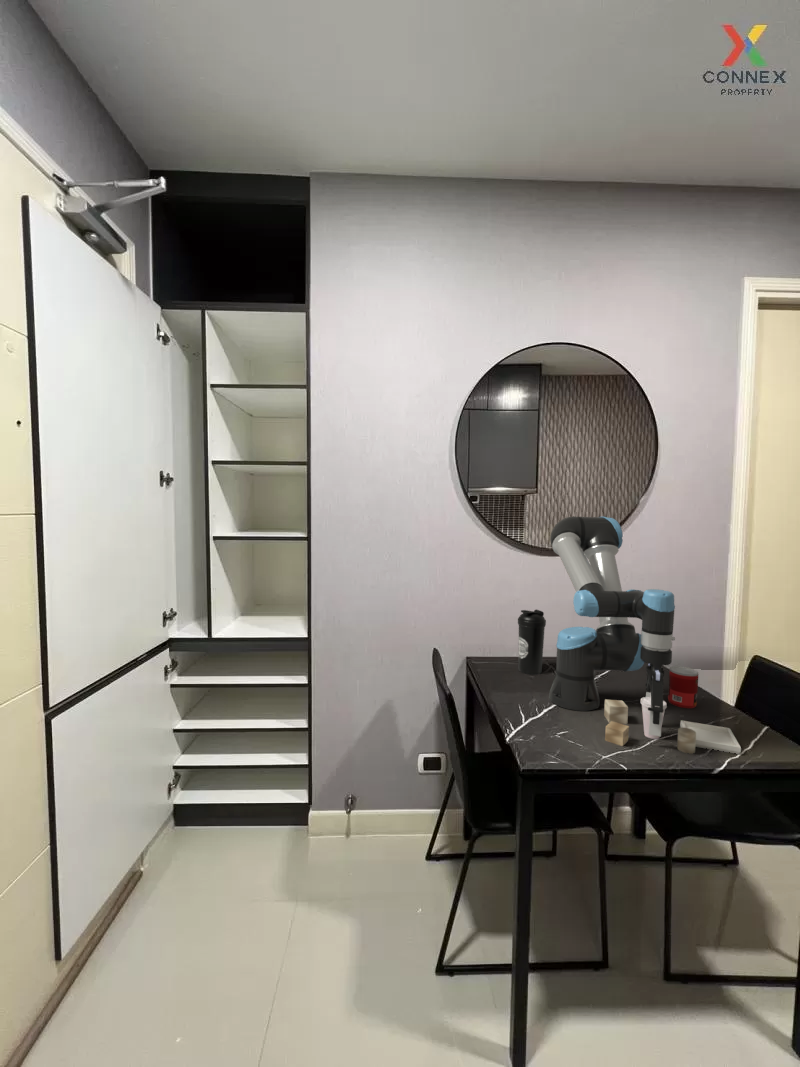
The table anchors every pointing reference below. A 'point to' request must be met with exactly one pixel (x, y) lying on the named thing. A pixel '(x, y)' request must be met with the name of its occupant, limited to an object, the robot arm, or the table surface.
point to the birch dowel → (686, 740)
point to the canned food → (683, 687)
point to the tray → (713, 737)
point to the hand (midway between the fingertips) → (652, 724)
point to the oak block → (616, 733)
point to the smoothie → (646, 715)
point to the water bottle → (531, 641)
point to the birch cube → (616, 711)
